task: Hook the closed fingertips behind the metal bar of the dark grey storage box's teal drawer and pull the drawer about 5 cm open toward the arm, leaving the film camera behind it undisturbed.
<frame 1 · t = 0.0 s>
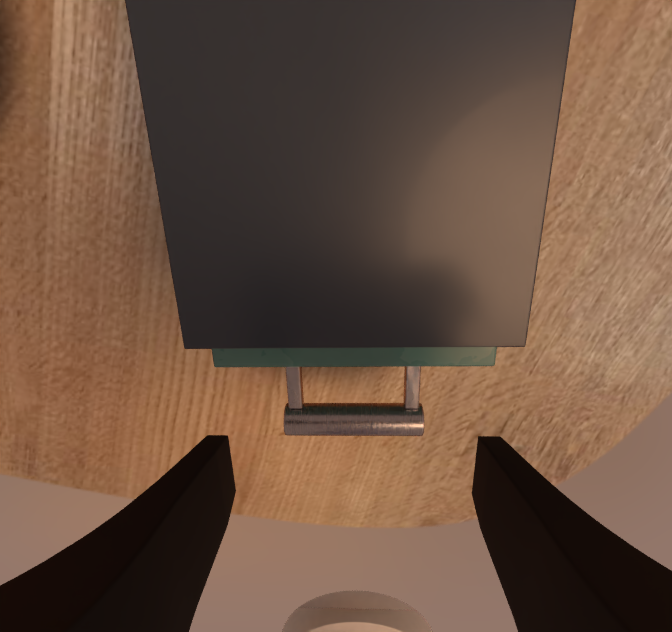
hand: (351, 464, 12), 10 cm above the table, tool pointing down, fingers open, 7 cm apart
dark grey storage box: (350, 138, 19), on the table
drawer: (351, 243, 17), point 4 cm above the table, slide at 0.0 cm
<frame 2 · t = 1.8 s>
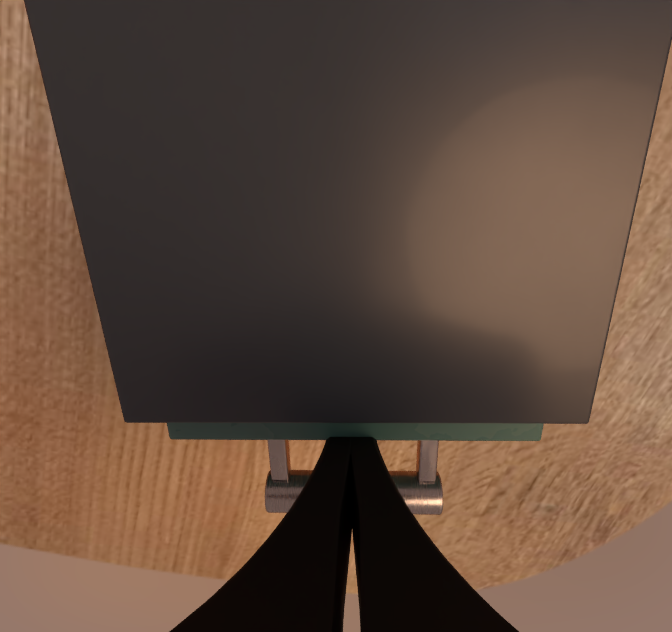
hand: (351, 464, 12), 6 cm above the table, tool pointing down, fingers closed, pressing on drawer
dark grey storage box: (349, 139, 15), on the table
drawer: (350, 274, 13), point 4 cm above the table, slide at 0.0 cm, touching gripper, dark grey storage box
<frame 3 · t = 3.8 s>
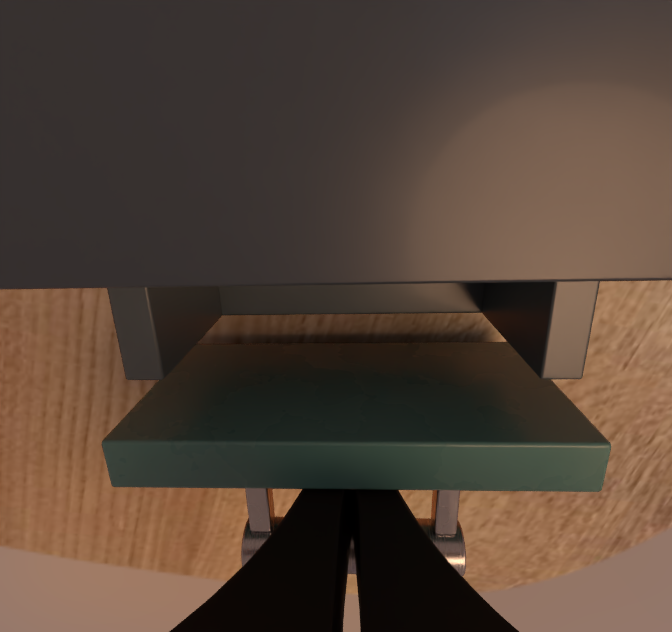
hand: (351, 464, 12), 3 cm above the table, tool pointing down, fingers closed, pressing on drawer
drawer: (348, 272, 10), point 4 cm above the table, slide at 3.5 cm, touching gripper
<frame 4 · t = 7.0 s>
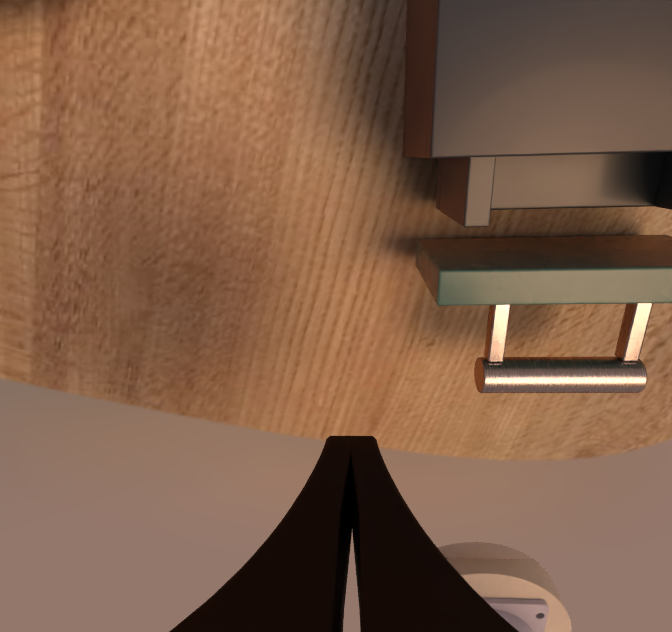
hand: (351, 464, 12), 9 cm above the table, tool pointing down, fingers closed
drawer: (582, 166, 14), point 4 cm above the table, slide at 3.3 cm
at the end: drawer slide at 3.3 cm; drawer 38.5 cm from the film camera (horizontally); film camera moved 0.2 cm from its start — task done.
